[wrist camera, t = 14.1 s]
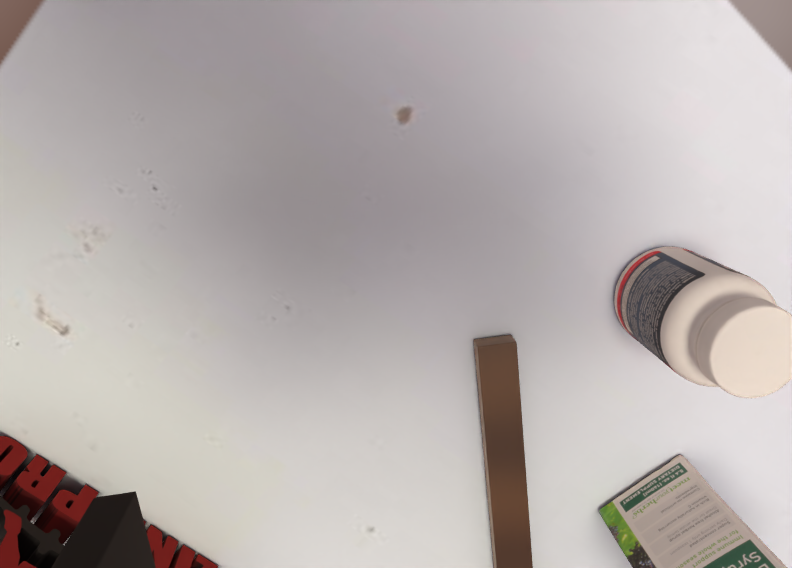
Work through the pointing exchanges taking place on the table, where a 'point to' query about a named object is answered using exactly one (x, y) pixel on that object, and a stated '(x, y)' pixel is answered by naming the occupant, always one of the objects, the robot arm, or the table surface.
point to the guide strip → (503, 450)
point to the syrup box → (682, 524)
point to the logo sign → (57, 517)
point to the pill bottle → (706, 321)
